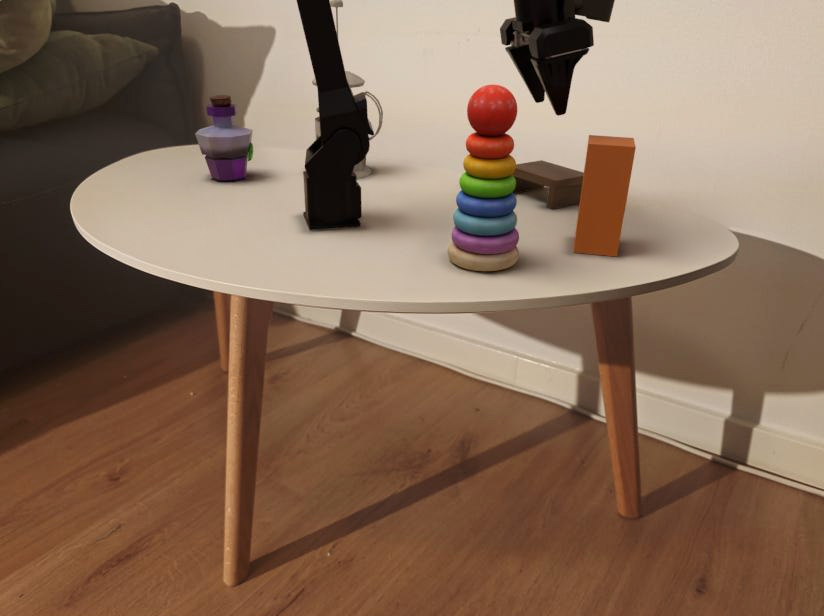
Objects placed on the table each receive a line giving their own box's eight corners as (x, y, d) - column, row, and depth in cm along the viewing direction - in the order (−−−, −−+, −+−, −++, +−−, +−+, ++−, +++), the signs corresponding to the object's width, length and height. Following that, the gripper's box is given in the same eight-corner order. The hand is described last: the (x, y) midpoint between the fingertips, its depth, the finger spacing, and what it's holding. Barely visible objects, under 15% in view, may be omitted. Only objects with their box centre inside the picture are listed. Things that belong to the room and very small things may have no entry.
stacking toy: (443, 249, 82) (451, 78, 73) (510, 248, 83) (526, 79, 74) (452, 274, 75) (461, 89, 66) (525, 273, 76) (544, 90, 67)
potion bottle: (264, 181, 107) (257, 98, 101) (206, 187, 103) (196, 101, 97) (249, 168, 113) (242, 90, 108) (195, 173, 110) (184, 92, 104)
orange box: (573, 252, 82) (588, 143, 76) (574, 239, 86) (588, 134, 80) (617, 256, 81) (635, 146, 75) (616, 243, 85) (633, 137, 79)
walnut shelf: (552, 209, 97) (555, 180, 95) (504, 192, 104) (506, 165, 102) (587, 202, 101) (591, 174, 99) (538, 186, 108) (541, 160, 106)
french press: (319, 162, 118) (312, -4, 106) (387, 166, 117) (387, -2, 105) (303, 177, 109) (293, -3, 97) (376, 181, 108) (375, 0, 96)
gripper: (637, -53, 70) (643, 105, 78) (578, -49, 87) (588, 82, 94) (530, -28, 70) (546, 128, 78) (491, -28, 87) (508, 101, 94)
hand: (550, 108), depth 86 cm, fingers open, 9 cm apart
